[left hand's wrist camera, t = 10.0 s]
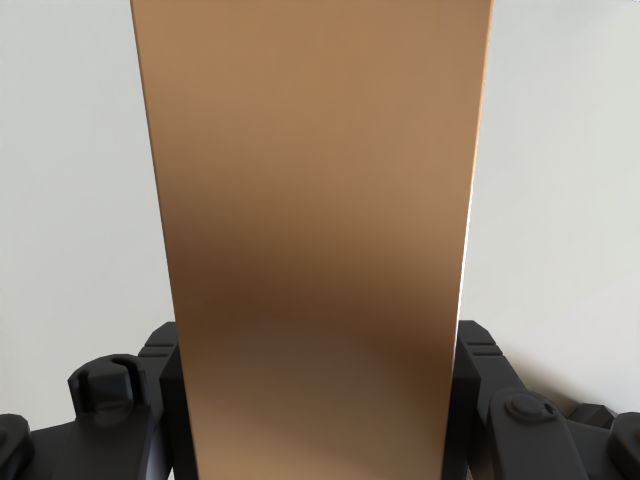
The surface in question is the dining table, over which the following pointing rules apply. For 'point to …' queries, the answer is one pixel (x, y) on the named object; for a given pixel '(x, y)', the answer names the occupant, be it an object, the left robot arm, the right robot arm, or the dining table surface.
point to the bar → (315, 224)
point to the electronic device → (594, 415)
